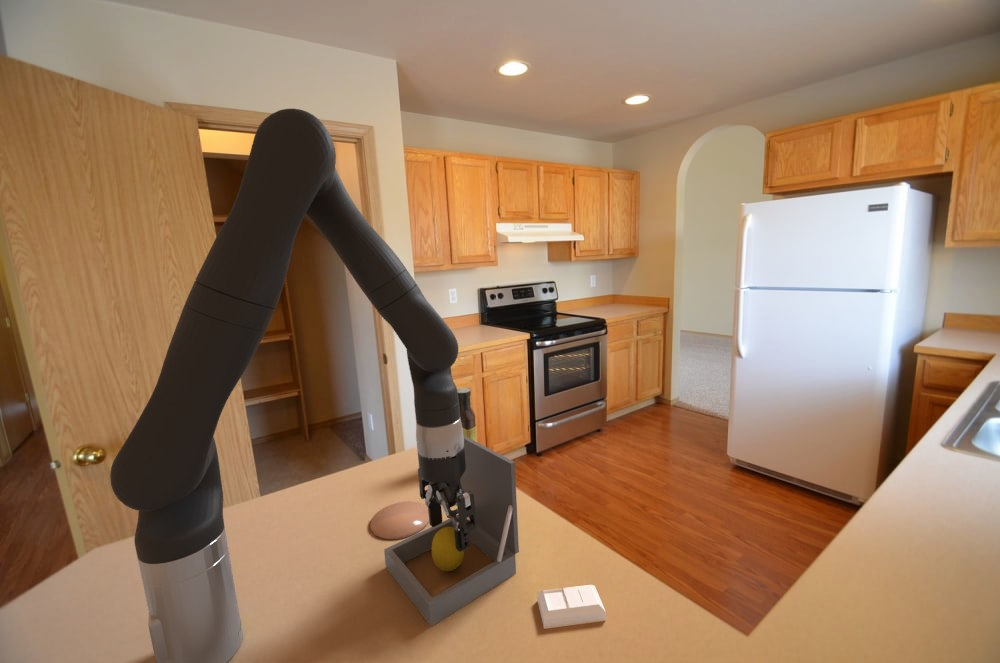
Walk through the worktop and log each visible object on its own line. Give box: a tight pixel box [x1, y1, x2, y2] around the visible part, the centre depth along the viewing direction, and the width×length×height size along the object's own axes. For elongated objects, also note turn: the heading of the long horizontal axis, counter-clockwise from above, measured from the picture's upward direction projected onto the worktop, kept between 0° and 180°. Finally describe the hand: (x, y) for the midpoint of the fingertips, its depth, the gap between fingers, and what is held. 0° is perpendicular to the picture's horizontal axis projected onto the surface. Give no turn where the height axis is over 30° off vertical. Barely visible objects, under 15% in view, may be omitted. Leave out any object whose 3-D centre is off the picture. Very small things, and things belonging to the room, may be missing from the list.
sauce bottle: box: [457, 387, 478, 443], centre depth 109 cm, size 6×6×20 cm
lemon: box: [430, 527, 466, 572], centre depth 71 cm, size 6×6×8 cm
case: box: [383, 435, 520, 628], centre depth 70 cm, size 17×16×20 cm
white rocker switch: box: [536, 584, 607, 630], centre depth 62 cm, size 5×9×3 cm, turn 96°
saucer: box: [370, 501, 430, 540], centre depth 86 cm, size 12×12×1 cm
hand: (449, 536), depth 71 cm, fingers open, 8 cm apart
